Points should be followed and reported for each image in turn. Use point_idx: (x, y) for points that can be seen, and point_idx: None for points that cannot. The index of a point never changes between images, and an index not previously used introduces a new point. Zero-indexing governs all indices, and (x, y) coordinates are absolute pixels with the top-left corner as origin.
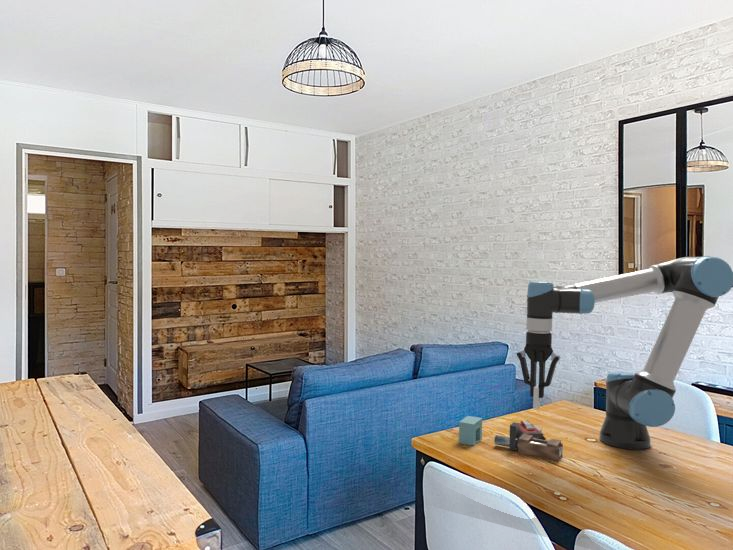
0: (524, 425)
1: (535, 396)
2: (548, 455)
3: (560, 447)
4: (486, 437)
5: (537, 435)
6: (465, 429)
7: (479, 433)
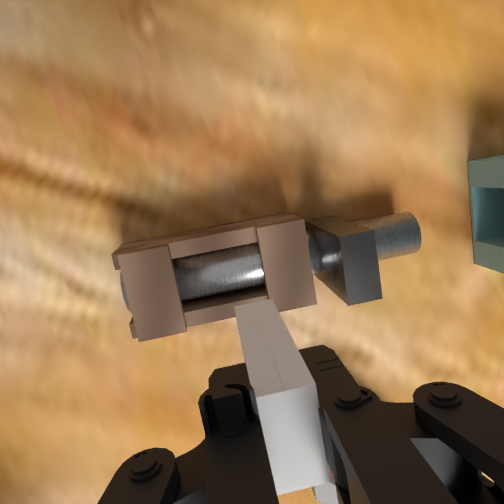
0: None
1: (271, 340)
2: (162, 238)
3: (122, 291)
4: (466, 294)
5: None
6: None
7: (496, 245)
